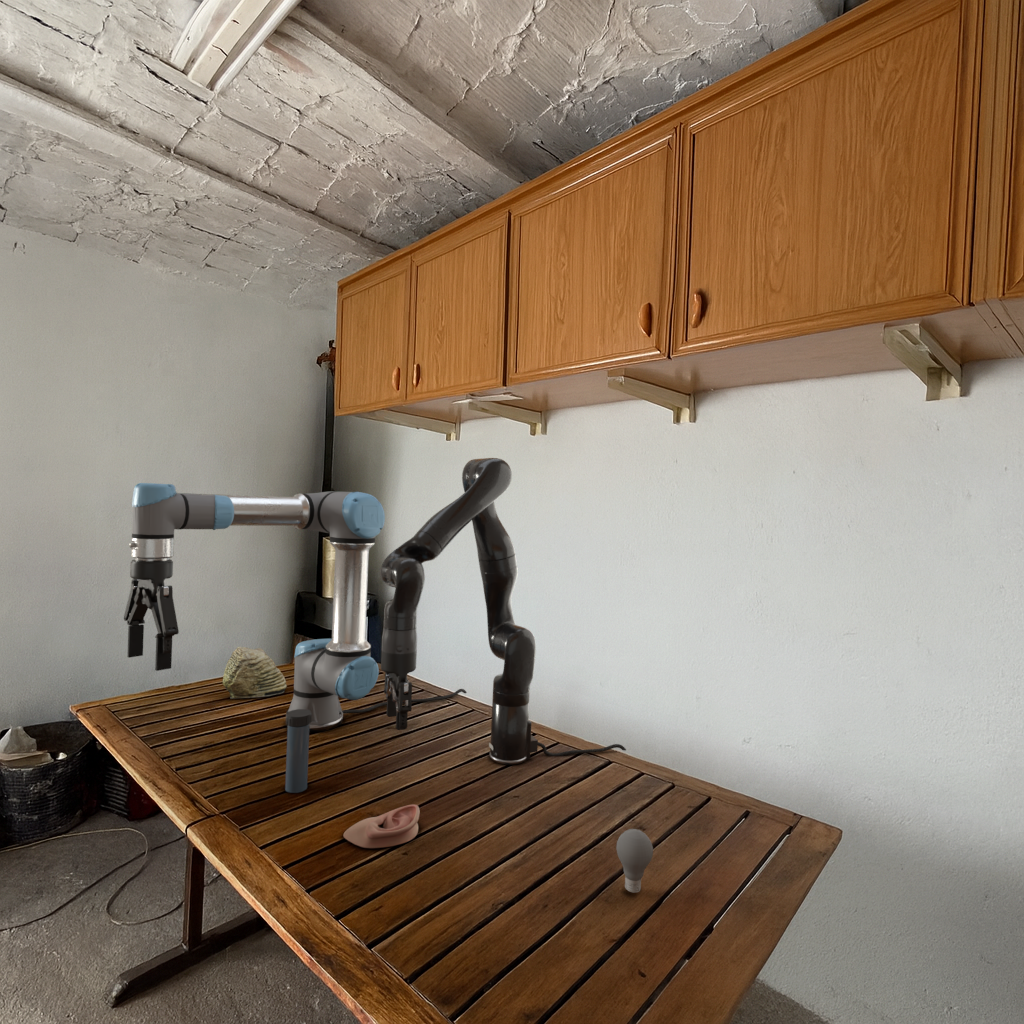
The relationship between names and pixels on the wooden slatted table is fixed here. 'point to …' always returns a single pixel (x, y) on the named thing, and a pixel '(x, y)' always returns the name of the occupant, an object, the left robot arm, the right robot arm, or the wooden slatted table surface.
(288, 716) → the lid
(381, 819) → the anatomical model
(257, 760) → the wooden slatted table surface
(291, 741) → the blue-grey cylindrical bottle
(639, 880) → the light bulb
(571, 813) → the wooden slatted table surface
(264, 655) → the fossil
